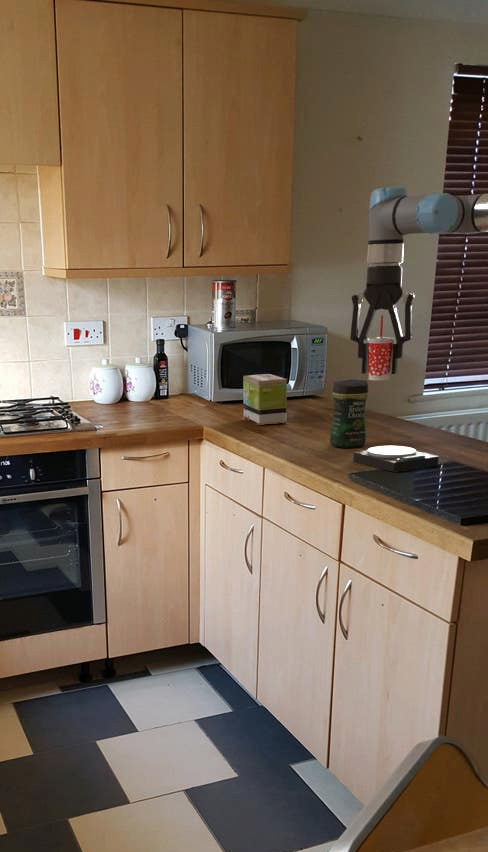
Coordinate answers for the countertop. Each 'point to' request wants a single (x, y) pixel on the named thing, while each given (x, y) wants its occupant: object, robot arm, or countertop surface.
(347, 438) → the coffee jar
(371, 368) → the beverage cup
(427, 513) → the countertop surface
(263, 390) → the tea box
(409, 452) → the kitchen scale
